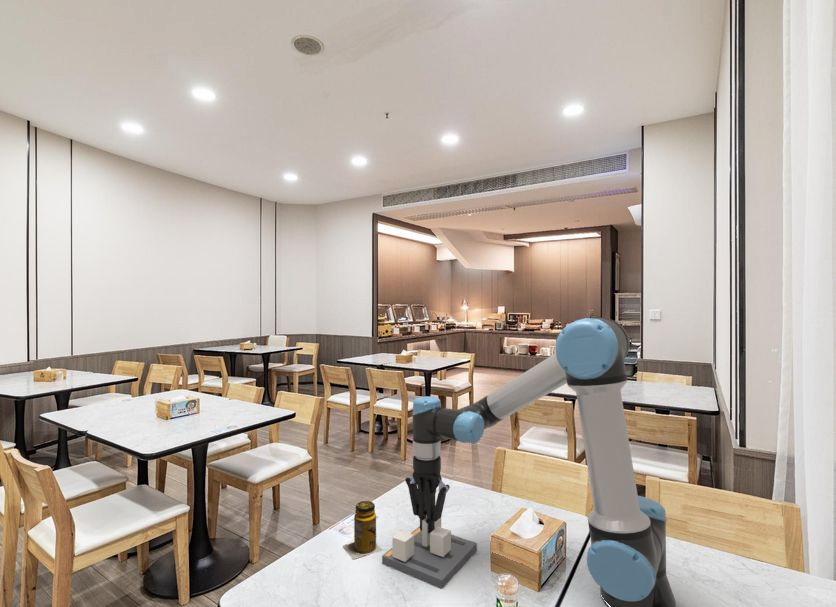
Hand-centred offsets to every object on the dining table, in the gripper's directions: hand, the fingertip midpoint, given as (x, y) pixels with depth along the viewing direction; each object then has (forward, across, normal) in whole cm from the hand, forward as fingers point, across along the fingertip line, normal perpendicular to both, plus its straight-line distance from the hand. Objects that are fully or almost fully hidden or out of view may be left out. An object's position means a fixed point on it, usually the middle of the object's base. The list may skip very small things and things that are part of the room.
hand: (427, 543), depth 114 cm
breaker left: (+1, +3, +7) cm, 8 cm away
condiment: (+3, +17, +7) cm, 19 cm away
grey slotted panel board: (+3, -1, 0) cm, 3 cm away
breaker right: (+1, +3, -7) cm, 8 cm away
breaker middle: (+1, -4, 0) cm, 4 cm away
